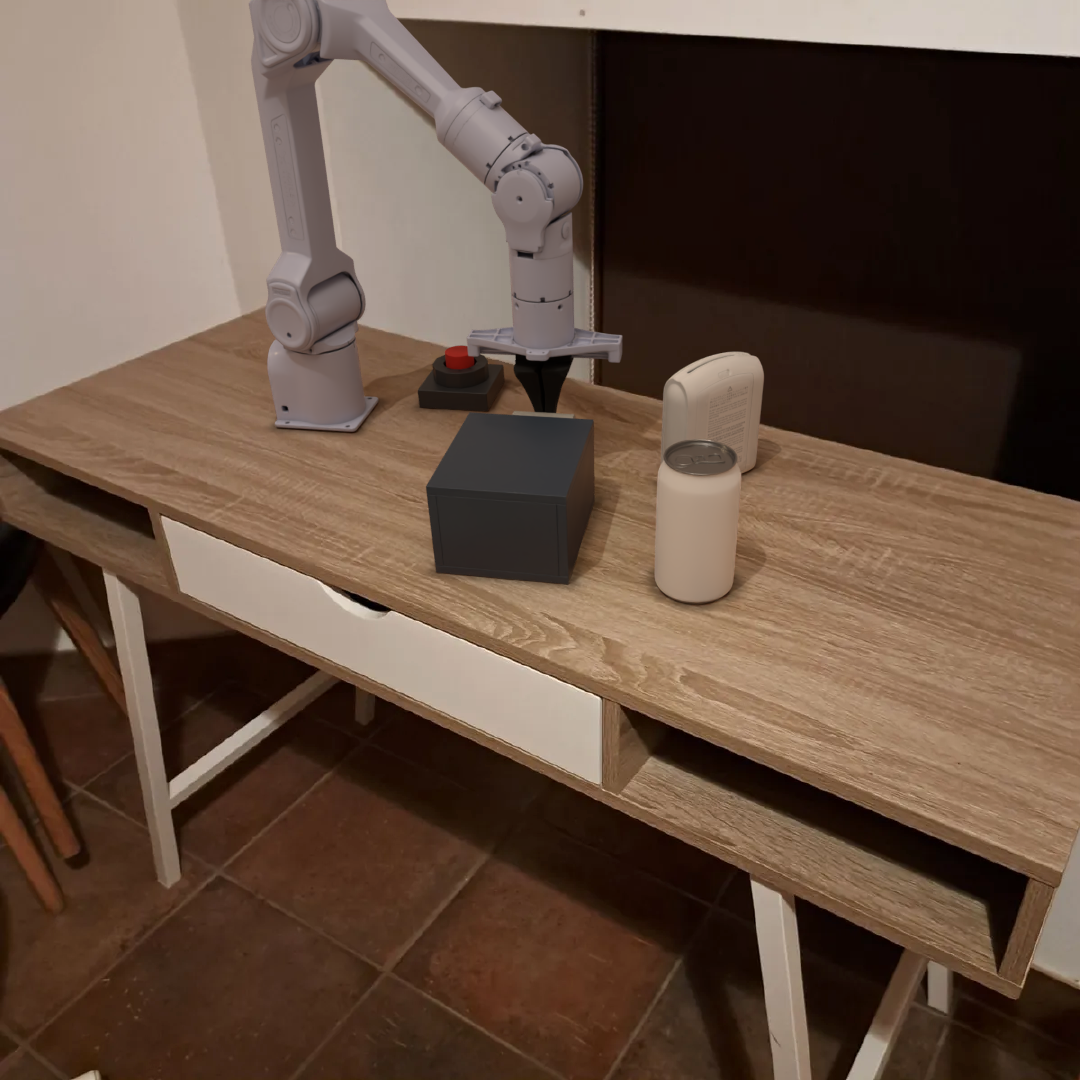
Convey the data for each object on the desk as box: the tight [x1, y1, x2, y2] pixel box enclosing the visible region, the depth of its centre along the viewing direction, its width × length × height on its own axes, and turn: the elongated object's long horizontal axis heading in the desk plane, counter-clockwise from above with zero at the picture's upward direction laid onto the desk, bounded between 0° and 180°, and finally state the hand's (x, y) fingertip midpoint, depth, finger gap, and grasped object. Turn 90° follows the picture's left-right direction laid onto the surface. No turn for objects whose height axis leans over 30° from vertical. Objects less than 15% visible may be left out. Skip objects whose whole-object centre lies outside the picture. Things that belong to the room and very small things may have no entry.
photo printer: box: [660, 351, 765, 475], centre depth 95 cm, size 10×4×12 cm, turn 123°
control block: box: [417, 354, 505, 412], centre depth 115 cm, size 8×8×4 cm
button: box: [444, 344, 474, 369], centre depth 114 cm, size 3×3×2 cm
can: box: [654, 439, 742, 605], centre depth 81 cm, size 6×6×12 cm
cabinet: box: [425, 411, 596, 585], centre depth 89 cm, size 14×12×9 cm
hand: (547, 423), depth 100 cm, fingers closed, pressing on drawer
